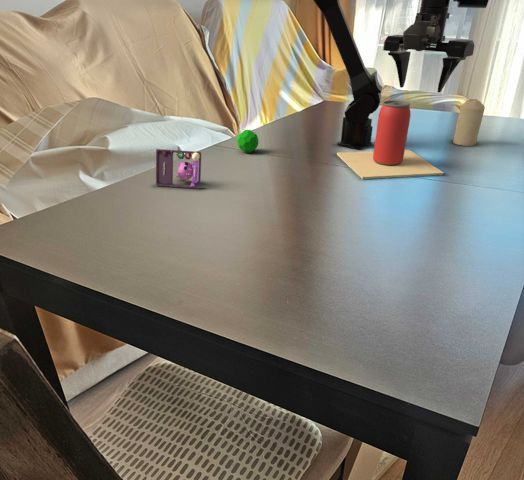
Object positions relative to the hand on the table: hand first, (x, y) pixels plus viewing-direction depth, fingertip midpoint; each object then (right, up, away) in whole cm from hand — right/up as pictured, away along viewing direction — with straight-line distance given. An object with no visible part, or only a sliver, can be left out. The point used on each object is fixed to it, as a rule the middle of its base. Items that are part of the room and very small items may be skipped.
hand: (420, 89), depth 115 cm
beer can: (-8, -18, -3) cm, 20 cm away
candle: (+15, -7, +13) cm, 21 cm away
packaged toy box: (-52, -26, -14) cm, 60 cm away
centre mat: (-8, -18, -3) cm, 20 cm away
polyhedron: (-39, -12, +5) cm, 42 cm away
